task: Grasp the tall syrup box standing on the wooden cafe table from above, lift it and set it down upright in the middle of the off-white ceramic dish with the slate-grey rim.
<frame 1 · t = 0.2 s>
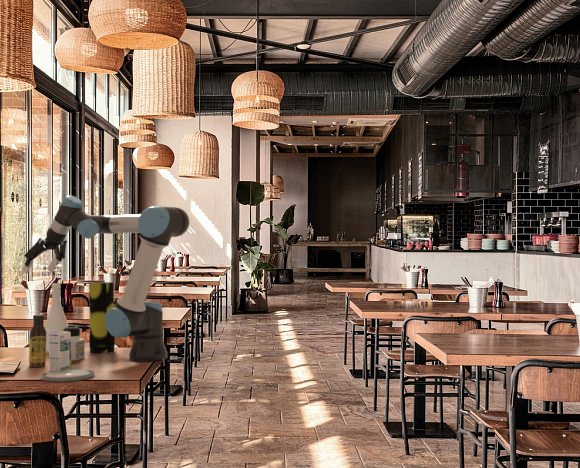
hand: (37, 271, 321), 36 cm above the table, tool tilted 35°, fingers open, 13 cm apart
dish: (68, 377, 270), on the table
container 2: (102, 352, 331), on the table
syrup box: (60, 371, 284), on the table
sauce bottle: (37, 366, 295), on the table
container: (71, 359, 313), on the table
wine bottle: (56, 352, 332), on the table
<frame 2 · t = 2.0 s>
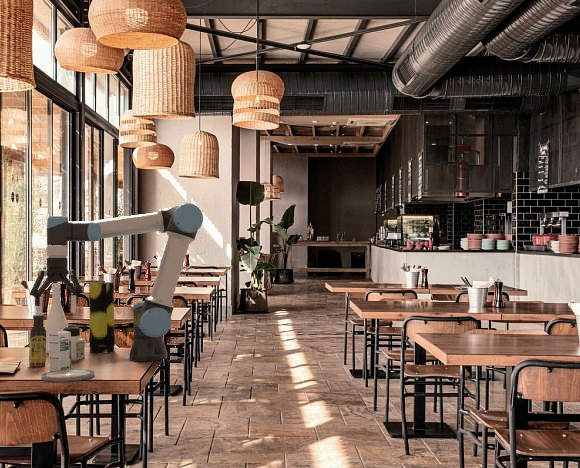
hand: (56, 313, 285), 21 cm above the table, tool pointing down, fingers open, 13 cm apart
nothing on the table moved.
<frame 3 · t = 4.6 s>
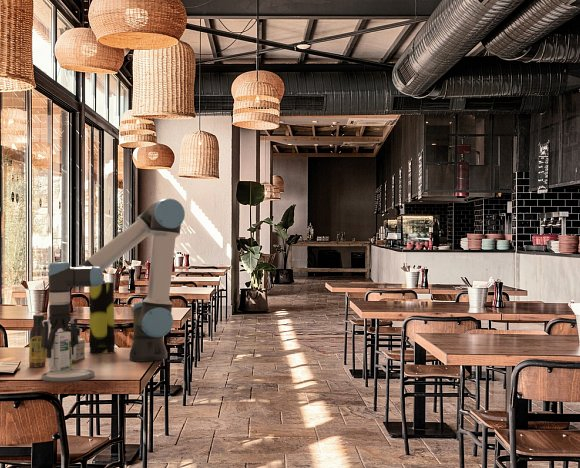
hand: (60, 365, 284), 2 cm above the table, tool pointing down, fingers closed on syrup box, 6 cm apart
syrup box: (60, 371, 284), on the table, touching gripper
everything else where it was.
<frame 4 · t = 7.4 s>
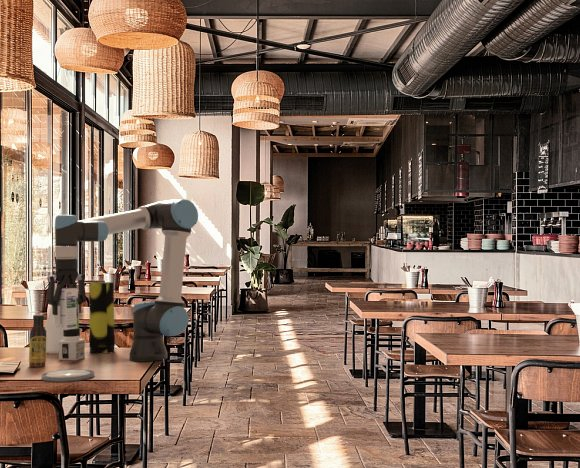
hand: (67, 323, 271), 19 cm above the table, tool pointing down, fingers closed on syrup box, 6 cm apart
syrup box: (66, 329, 271), point 17 cm above the table, touching gripper
everything else where it was.
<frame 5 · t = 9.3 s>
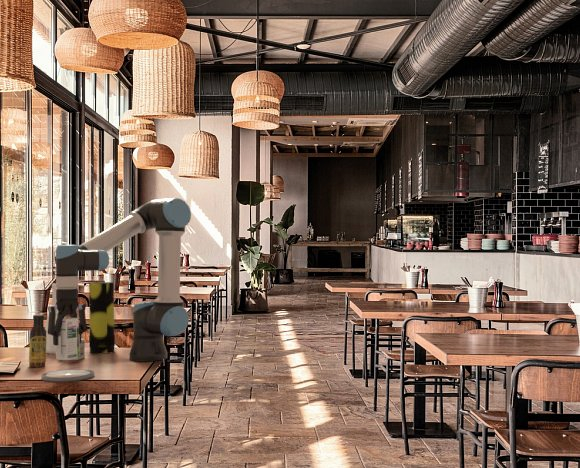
hand: (67, 353, 270), 8 cm above the table, tool pointing down, fingers closed on syrup box, 6 cm apart
syrup box: (67, 359, 270), point 6 cm above the table, touching gripper
everything else where it was.
when the fingers open (4 cm above the table, at t = 10.5 s): syrup box drops 1 cm, resting on dish.
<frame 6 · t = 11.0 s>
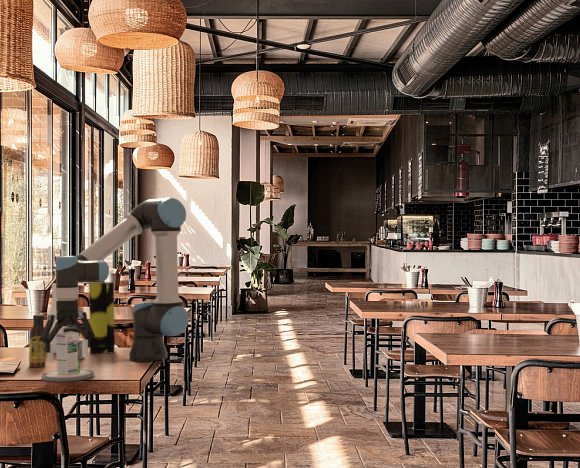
hand: (67, 359, 270), 6 cm above the table, tool pointing down, fingers open, 13 cm apart
syrup box: (68, 373, 270), point 1 cm above the table, touching dish
everything else where it was.
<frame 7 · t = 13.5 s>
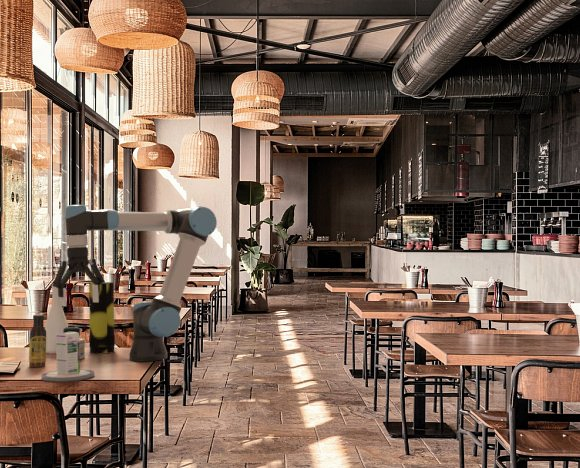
hand: (80, 304, 282), 25 cm above the table, tool pointing down, fingers open, 13 cm apart
nothing on the table moved.
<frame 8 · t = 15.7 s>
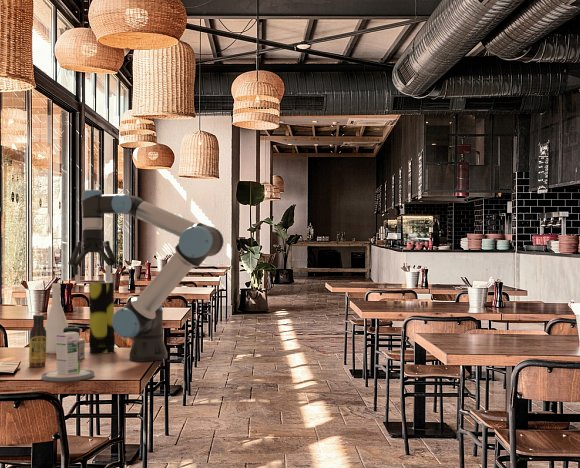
hand: (93, 282, 302), 32 cm above the table, tool pointing down, fingers open, 13 cm apart
nothing on the table moved.
at the end: syrup box inside the target area on the dish (0.1 cm from its centre), point 1.1 cm above the dish's base; syrup box tilted 0°; the gripper is holding nothing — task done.
